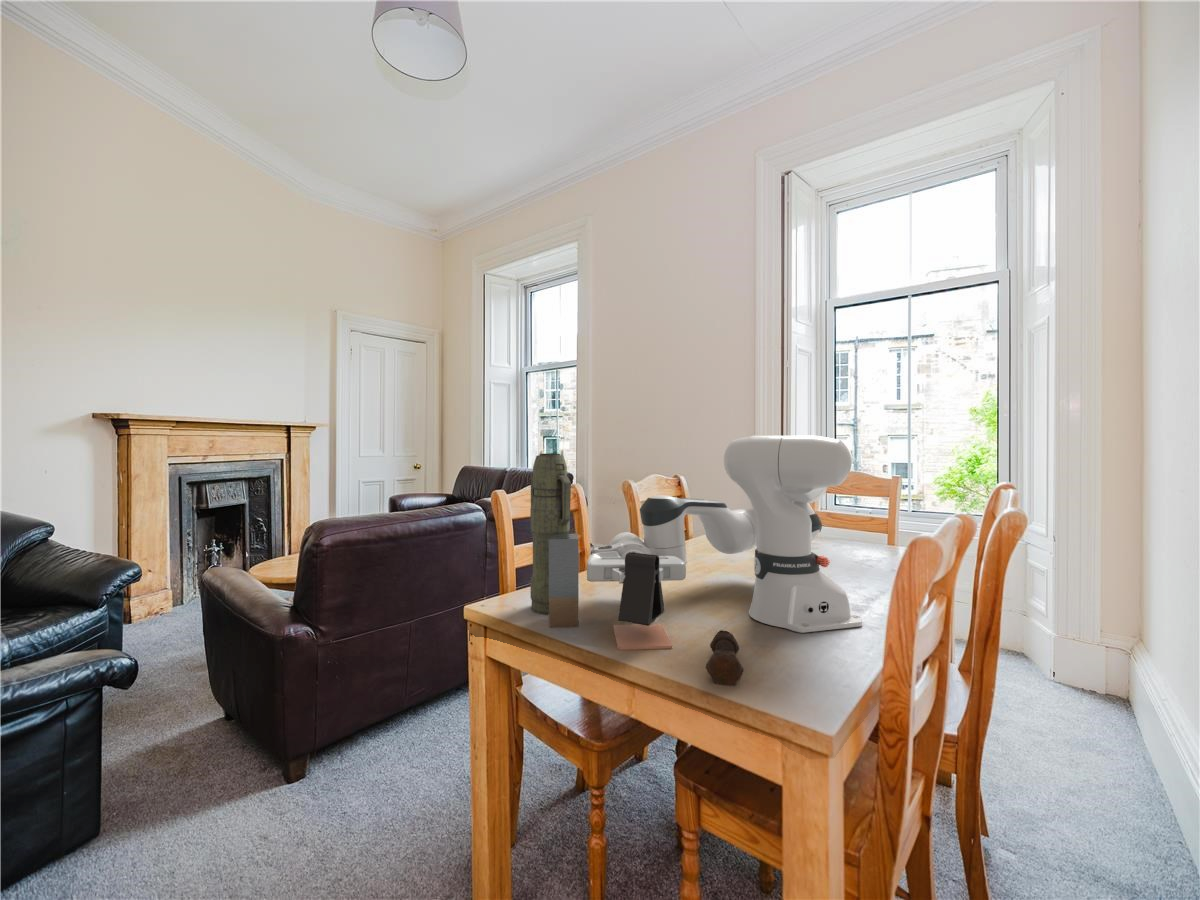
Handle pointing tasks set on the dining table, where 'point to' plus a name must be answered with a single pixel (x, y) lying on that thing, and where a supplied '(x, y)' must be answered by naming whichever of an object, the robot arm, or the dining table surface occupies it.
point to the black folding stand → (641, 590)
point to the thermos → (547, 520)
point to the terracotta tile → (641, 637)
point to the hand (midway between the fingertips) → (640, 579)
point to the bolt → (724, 660)
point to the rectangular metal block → (563, 580)
